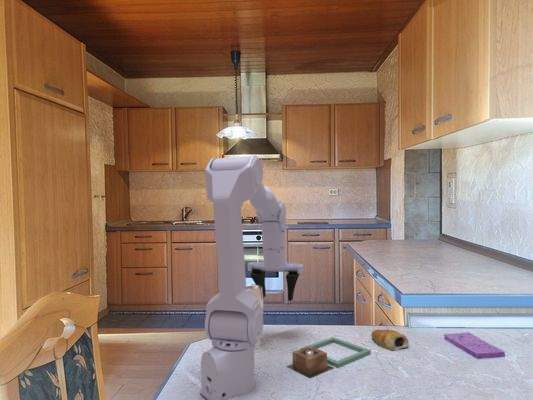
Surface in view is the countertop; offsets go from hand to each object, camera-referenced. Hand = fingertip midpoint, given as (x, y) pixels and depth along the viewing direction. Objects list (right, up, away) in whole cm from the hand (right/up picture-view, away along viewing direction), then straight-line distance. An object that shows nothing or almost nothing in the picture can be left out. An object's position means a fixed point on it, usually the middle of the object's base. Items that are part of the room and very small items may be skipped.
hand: (276, 298), depth 95 cm
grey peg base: (+6, -10, -20) cm, 23 cm away
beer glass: (-7, -11, -7) cm, 14 cm away
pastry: (+28, -10, -5) cm, 30 cm away
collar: (+6, -9, -20) cm, 23 cm away
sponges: (+47, -10, -8) cm, 48 cm away
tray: (+13, -10, -13) cm, 21 cm away
